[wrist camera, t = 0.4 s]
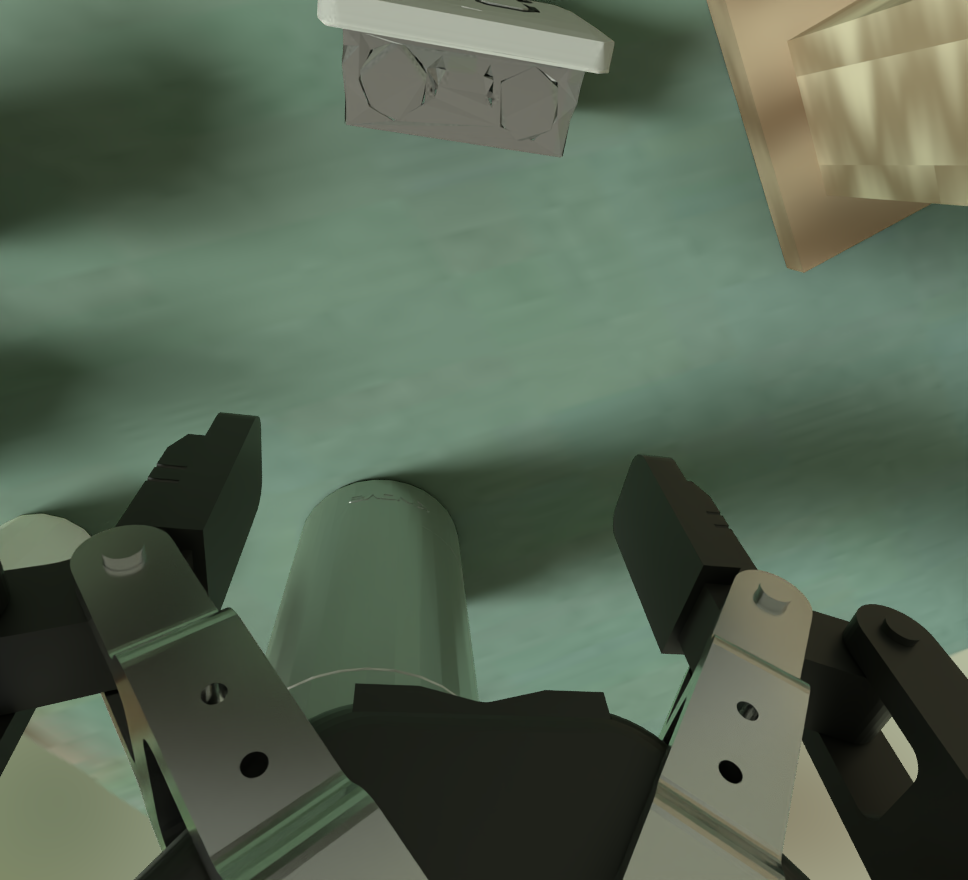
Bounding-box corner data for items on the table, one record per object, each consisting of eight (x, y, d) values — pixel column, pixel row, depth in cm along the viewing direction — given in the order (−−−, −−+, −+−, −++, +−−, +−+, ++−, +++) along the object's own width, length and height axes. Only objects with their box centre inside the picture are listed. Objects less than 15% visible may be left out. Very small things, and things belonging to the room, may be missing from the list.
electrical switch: (568, 11, 26) (635, -24, 18) (545, 143, 29) (595, 164, 21) (346, -32, 25) (312, -89, 17) (342, 111, 27) (310, 121, 19)
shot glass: (133, 534, 34) (69, 619, 28) (92, 622, 36) (25, 720, 30) (-1, 483, 32) (-103, 562, 26) (-36, 579, 34) (-138, 674, 28)
